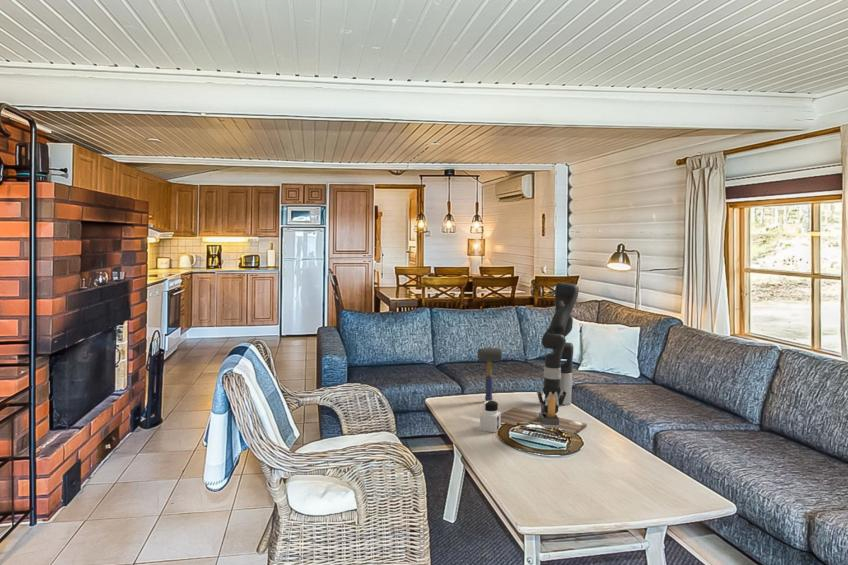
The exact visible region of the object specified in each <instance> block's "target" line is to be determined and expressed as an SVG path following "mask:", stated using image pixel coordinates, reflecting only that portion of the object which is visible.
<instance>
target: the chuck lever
mask: <svg viewBox="0 0 848 565" xmlns="http://www.w3.org/2000/svg"><path fill="white" fill-rule="evenodd" d="M540 404H541V403H540ZM543 407H544V405H543V404H541V405H540V412H536V413H537V419H539V424H540V425H541V426H542V427H546V428H557V429H559V418H560V417H559V416H558V415H557V413H555V418H546V413H545V412H544V411H543Z"/></svg>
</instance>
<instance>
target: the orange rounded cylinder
mask: <svg viewBox="0 0 848 565" xmlns="http://www.w3.org/2000/svg"><path fill="white" fill-rule="evenodd" d="M547 406H548V413H546V418H555V414H556V413H555V406H556V399H555V394H551V396H550V400H549V402H548V405H547Z"/></svg>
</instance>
